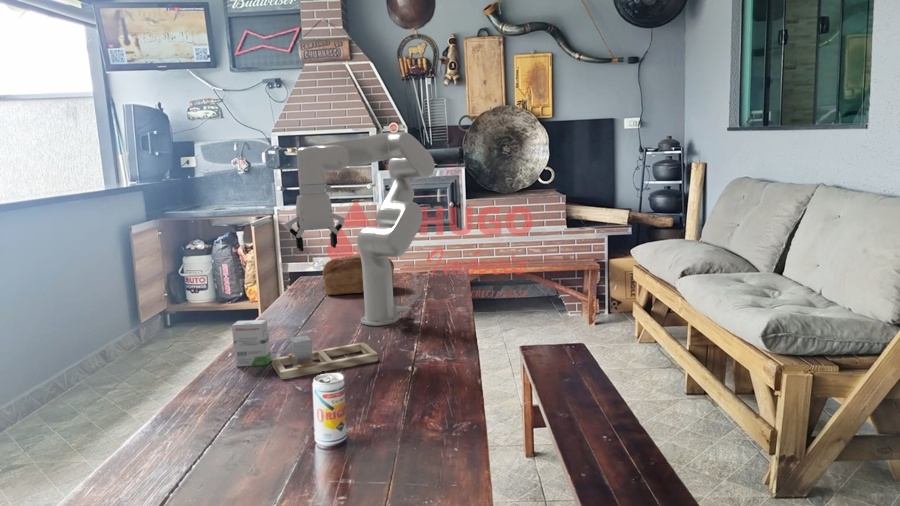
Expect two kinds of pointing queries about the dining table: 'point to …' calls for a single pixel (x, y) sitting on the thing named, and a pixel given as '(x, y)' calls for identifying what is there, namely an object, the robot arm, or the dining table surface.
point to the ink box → (251, 343)
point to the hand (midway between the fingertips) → (317, 248)
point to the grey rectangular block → (301, 350)
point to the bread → (345, 275)
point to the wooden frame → (325, 360)
